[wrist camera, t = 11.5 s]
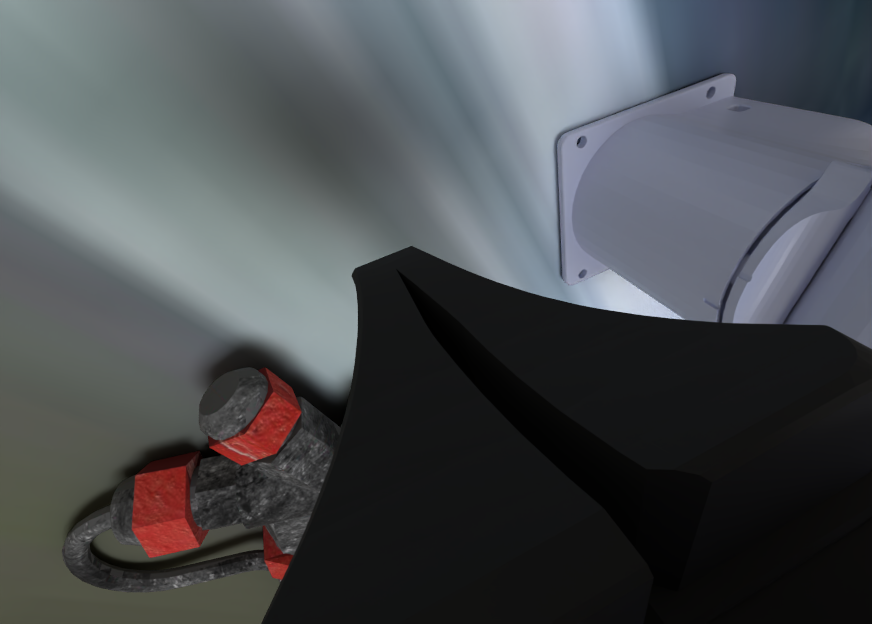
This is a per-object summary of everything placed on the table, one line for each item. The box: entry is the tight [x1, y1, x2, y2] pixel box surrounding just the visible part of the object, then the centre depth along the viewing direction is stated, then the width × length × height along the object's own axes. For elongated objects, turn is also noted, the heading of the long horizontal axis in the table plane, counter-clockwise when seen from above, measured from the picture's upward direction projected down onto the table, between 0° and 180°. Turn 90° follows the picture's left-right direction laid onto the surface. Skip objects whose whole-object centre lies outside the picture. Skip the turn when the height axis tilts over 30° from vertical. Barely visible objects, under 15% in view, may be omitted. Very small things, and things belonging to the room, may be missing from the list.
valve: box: [62, 367, 342, 592], centre depth 25 cm, size 6×26×15 cm
